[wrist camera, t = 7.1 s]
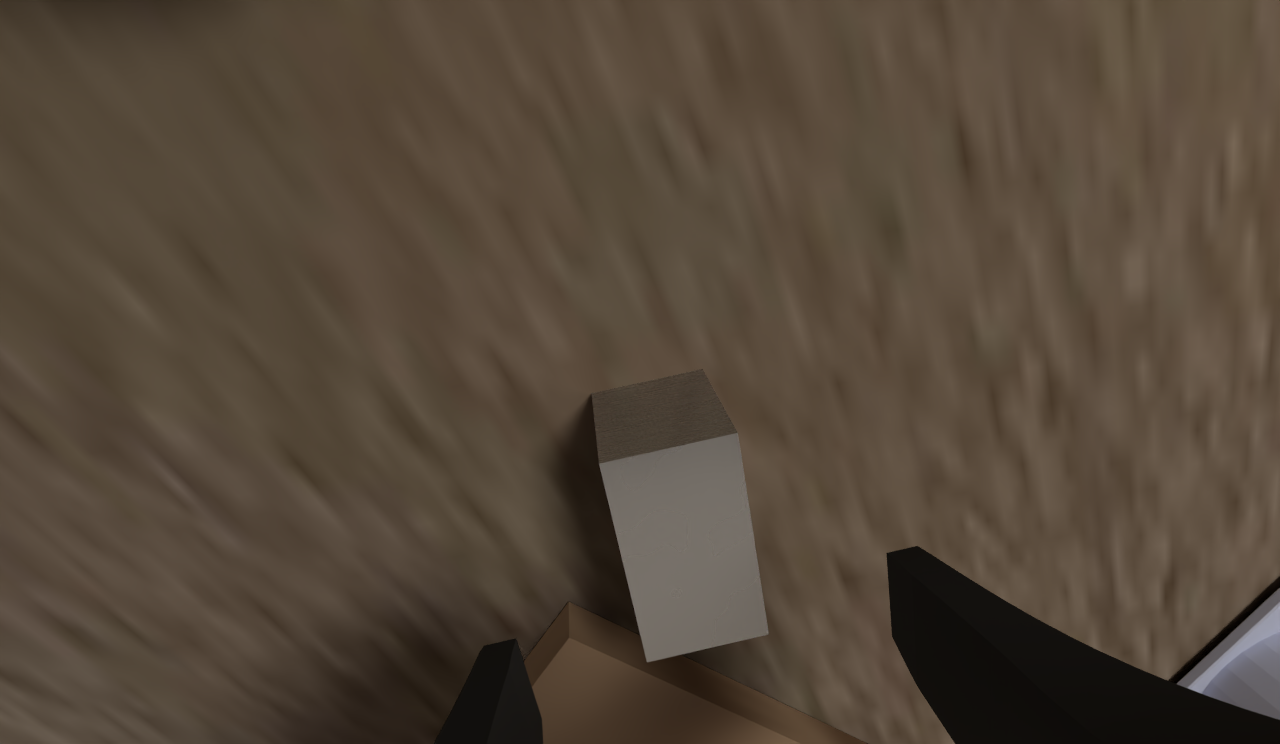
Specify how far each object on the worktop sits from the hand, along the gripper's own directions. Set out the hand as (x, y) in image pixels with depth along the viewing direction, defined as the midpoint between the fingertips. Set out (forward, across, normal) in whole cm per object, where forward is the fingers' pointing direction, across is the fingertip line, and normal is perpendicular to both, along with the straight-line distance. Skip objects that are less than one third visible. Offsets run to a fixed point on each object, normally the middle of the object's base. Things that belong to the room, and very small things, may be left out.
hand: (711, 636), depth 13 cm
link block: (+7, 0, 0) cm, 7 cm away
